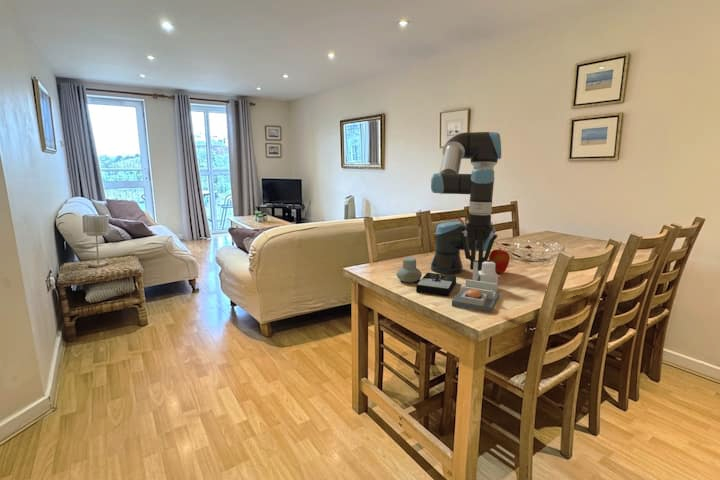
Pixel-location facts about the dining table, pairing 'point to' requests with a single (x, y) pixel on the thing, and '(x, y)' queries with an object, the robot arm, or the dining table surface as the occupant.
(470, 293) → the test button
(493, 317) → the dining table surface
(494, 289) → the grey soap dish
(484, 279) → the medicine bottle
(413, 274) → the air freshener
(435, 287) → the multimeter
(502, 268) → the apple
